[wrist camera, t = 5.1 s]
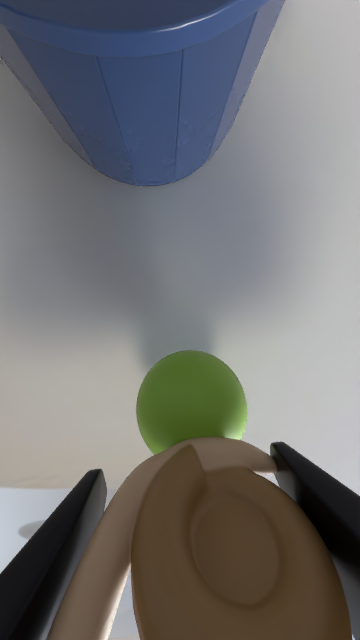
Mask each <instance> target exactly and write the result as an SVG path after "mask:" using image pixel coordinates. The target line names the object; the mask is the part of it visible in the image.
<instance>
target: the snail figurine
mask: <svg viewBox="0 0 360 640" xmlns="http://www.w3.org/2000/svg"><path fill="white" fill-rule="evenodd" d="M136 414H137V422H138V426H139V430H140V433H141V435H142V437H143V440H144V441H145V443H146V445H147V446H148V448H149V449H150V450H151V452H152V453H153V454H154V456H152V457H150V458H148V459H147V460H145V461H144V462H142V463H141V464H140V465H138V466H137V467H136V468H135V469H134V470H133V471H132V472H131V473H130V475H129V476H128V477H127V478H126V480H125V481H124V482H123V483H122V485H121V486H120V488H119V489H118V491H117V492H116V493H115V495H114V497H113V498H112V500H111V501H110V503H109V505H108V507H107V508H106V510H105V512H104V513H103V515H102V517H101V519H100V521H99V522H98V524H97V526H96V528H95V530H94V532H93V534H92V536H91V538H90V540H89V542H88V544H87V546H86V549H85V551H84V553H83V555H82V557H81V559H80V561H79V563H78V565H77V567H76V569H75V572H74V574H73V576H72V578H71V580H70V582H69V584H68V587H67V589H66V591H65V593H64V596H63V598H62V600H61V603H60V605H59V607H58V610H57V612H56V615H55V617H54V620H53V622H52V625H51V627H50V630H49V632H48V635H47V638H46V640H108V637H109V634H110V631H111V627H112V624H113V621H114V617H115V614H116V611H117V608H118V605H119V601H120V598H121V595H122V592H123V589H124V586H125V582H126V579H127V576H128V573H129V570H130V567H131V585H132V598H133V608H134V615H135V619H136V623H137V627H138V632H139V636H140V640H352V631H351V622H350V615H349V610H348V606H347V602H346V598H345V594H344V591H343V587H342V583H341V580H340V577H339V574H338V572H337V569H336V567H335V565H334V562H333V560H332V557H331V555H330V553H329V551H328V549H327V547H326V545H325V543H324V541H323V540H322V538H321V536H320V534H319V533H318V531H317V529H316V528H315V526H314V525H313V523H312V522H311V520H310V519H309V518H308V516H307V515H306V514H305V512H304V511H303V510H302V509H301V507H300V506H299V505H298V504H297V503H296V502H295V501H294V500H293V499H292V498H291V497H290V496H289V495H288V494H287V493H286V492H285V491H283V490H282V489H281V488H280V487H278V486H277V485H275V484H274V483H272V482H271V481H269V480H267V479H266V478H264V477H262V476H260V475H267V474H273V473H276V472H277V466H276V463H275V461H274V459H273V458H272V457H271V456H269V455H268V454H267V453H265V452H263V451H262V450H260V449H258V448H256V447H255V446H253V445H251V444H249V443H246V442H244V441H241V439H242V436H243V434H244V431H245V427H246V421H247V404H246V398H245V394H244V391H243V388H242V386H241V384H240V382H239V380H238V378H237V377H236V375H235V374H234V372H233V371H232V370H231V369H230V368H229V367H228V366H227V365H226V364H225V363H224V362H223V361H221V360H220V359H218V358H217V357H215V356H213V355H210V354H208V353H205V352H201V351H193V350H188V351H180V352H176V353H173V354H171V355H168V356H166V357H165V358H163V359H161V360H160V361H159V362H157V363H156V364H155V365H154V366H153V367H152V368H151V369H150V371H149V372H148V373H147V375H146V376H145V378H144V380H143V382H142V384H141V387H140V389H139V393H138V397H137V405H136Z"/></svg>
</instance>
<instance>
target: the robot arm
mask: <svg viewBox="0 0 360 640" xmlns="http://www.w3.org/2000/svg"><path fill="white" fill-rule="evenodd" d="M270 456H271V457H272V458H273V459H274V461H275V463H276V466H277V472H276V473H274V475H275V477H276V480H277V482H278V484H279V487H280V488H281V489H282V490H283V491H285V492H286V493H287V494H288V495H289V496H290V497H291V498H292V499H293V500H294V501H295V502H296V503H297V504H298V505H299V506H300V507H301V509H302V510H303V511H304V512H305V514H306V515H307V516H308V518H309V519H310V520H311V522H312V523H313V525H314V526H315V528H316V529H317V531H318V533H319V534H320V536H321V538H322V540H323V541H324V543H325V545H326V547H327V549H328V551H329V553H330V555H331V557H332V560H333V562H334V565H335V567H336V569H337V572H338V574H339V577H340V580H341V583H342V587H343V591H344V594H345V598H346V602H347V606H348V610H349V615H350V622H351V631H352V635H353V637H354V638H355V640H360V496H359V495H357V494H356V493H355V492H353V491H352V490H350V489H349V488H348V487H346V486H345V485H343V484H342V483H341V482H339V481H338V480H336V479H335V478H333V477H332V476H331V475H329V474H328V473H326V472H325V471H324V470H322V469H321V468H319V467H318V466H317V465H315V464H314V463H312V462H311V461H309V460H308V459H307V458H305V457H304V456H302V455H301V454H300V453H298V452H297V451H295V450H294V449H292V448H291V447H290V446H288V445H287V444H285V443H284V442H275V443H271V445H270ZM106 495H107V487H106V482H105V478H104V474H103V471H102V469H94V470H90V471H88V472H87V473H86V474H85V475H84V477H83V478H82V479H81V480H80V481H79V482H78V484H77V485H76V486H75V487H74V488H73V489H72V491H71V492H70V493H69V494H68V495H67V496H66V498H65V499H64V500H63V501H62V502H61V503H60V505H59V506H58V507H57V508H56V510H55V511H54V512H53V513H52V514H51V515H50V517H49V518H48V519H47V520H46V521H45V522H44V523H43V525H42V526H41V527H40V528H39V529H38V530H37V532H36V533H35V534H34V535H33V536H32V537H31V539H30V540H29V541H28V542H27V543H26V545H25V546H24V547H23V548H22V549H21V551H19V553H18V554H17V555H16V556H15V557H14V558H13V560H12V561H11V562H10V563H9V564H8V566H7V567H6V568H5V569H4V570H3V571H2V572H1V574H0V640H46V638H47V635H48V632H49V630H50V627H51V625H52V622H53V620H54V617H55V615H56V612H57V610H58V607H59V605H60V603H61V600H62V598H63V596H64V593H65V591H66V589H67V587H68V584H69V582H70V580H71V578H72V576H73V574H74V572H75V569H76V567H77V565H78V563H79V561H80V559H81V557H82V555H83V553H84V551H85V549H86V546H87V544H88V542H89V540H90V538H91V536H92V534H93V532H94V530H95V528H96V526H97V524H98V522H99V521H100V519H101V517H102V515H103V513H104V507H105V502H106Z"/></svg>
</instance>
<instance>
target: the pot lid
mask: <svg viewBox="0 0 360 640" xmlns="http://www.w3.org/2000/svg"><path fill="white" fill-rule="evenodd" d="M268 1H269V0H0V24H1V25H3V26H5V27H7V28H9V29H11V30H13V31H16V32H18V33H20V34H22V35H24V36H26V37H28V38H30V39H32V40H35V41H38V42H41V43H44V44H47V45H50V46H53V47H56V48H59V49H62V50H65V51H69V52H73V53H79V54H85V55H91V56H97V57H103V58H144V57H150V56H156V55H162V54H169V53H174V52H177V51H180V50H183V49H186V48H189V47H192V46H195V45H198V44H201V43H204V42H206V41H208V40H210V39H212V38H214V37H216V36H218V35H220V34H222V33H223V32H225V31H227V30H229V29H231V28H233V27H235V26H237V25H238V24H239V23H241V22H242V21H243V20H245V19H246V18H247V17H249V16H250V15H252V14H253V13H254V12H256V11H257V10H258V9H260V8H261V7H262V6H264V5H265V4H266V3H267V2H268Z"/></svg>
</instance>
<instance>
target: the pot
mask: <svg viewBox="0 0 360 640" xmlns="http://www.w3.org/2000/svg"><path fill="white" fill-rule="evenodd" d="M284 1H285V0H269V1H268V2H267V3H266V4H265V5H264V6H262V7H261V8H260V9H258V10H257V11H256V12H254V13H253V14H252V15H250V16H249V17H247V18H246V19H245V20H243V21H242V22H241V23H239V24H238V25H237V26H235V27H233V28H231V29H229V30H227V31H225V32H223V33H222V34H220V35H218V36H216V37H214V38H212V39H210V40H208V41H206V42H204V43H201V44H198V45H195V46H192V47H189V48H186V49H183V50H180V51H177V52H174V53H169V54H162V55H156V56H150V57H144V58H103V57H97V56H91V55H85V54H79V53H73V52H69V51H65V50H62V49H59V48H56V47H53V46H50V45H47V44H44V43H41V42H38V41H35V40H32V39H30V38H28V37H26V36H24V35H22V34H20V33H18V32H16V31H13V30H11V29H9V28H7V27H5V26H3V25H1V24H0V56H1V57H2V59H3V60H4V61H5V63H6V64H7V65H8V67H9V68H10V69H11V71H12V72H13V73H14V75H15V76H16V77H17V79H18V80H19V81H20V83H21V84H22V85H23V87H24V88H25V89H26V91H27V92H28V93H29V95H30V96H31V97H32V99H33V100H34V101H35V103H36V104H37V105H38V107H39V108H40V109H41V111H42V112H43V113H44V115H45V116H46V117H47V119H48V120H49V121H50V123H51V124H52V125H53V127H54V128H55V129H56V131H57V132H58V133H59V135H60V136H61V137H62V139H63V140H64V141H65V142H66V143H67V144H68V145H69V146H70V147H71V148H72V149H73V150H74V151H75V152H76V153H77V154H78V155H79V156H80V157H81V158H82V159H83V160H84V161H85V162H87V163H88V164H89V165H91V166H92V167H93V168H95V169H96V170H98V171H99V172H101V173H103V174H104V175H106V176H108V177H110V178H113V179H115V180H118V181H120V182H124V183H128V184H131V185H139V186H157V185H163V184H168V183H171V182H174V181H177V180H180V179H182V178H184V177H186V176H188V175H190V174H191V173H193V172H194V171H196V170H197V169H198V168H200V167H201V166H202V165H203V164H204V163H205V162H206V161H207V160H208V159H209V158H210V157H211V156H212V155H213V154H214V152H215V151H216V150H217V149H218V147H219V146H220V144H221V142H222V141H223V139H224V138H225V136H226V134H227V133H228V131H229V130H230V129H231V127H232V124H233V122H234V120H235V117H236V115H237V113H238V110H239V108H240V105H241V103H242V101H243V98H244V96H245V94H246V91H247V89H248V86H249V84H250V82H251V79H252V77H253V75H254V72H255V70H256V68H257V65H258V63H259V60H260V58H261V56H262V53H263V51H264V49H265V46H266V44H267V41H268V39H269V37H270V34H271V32H272V30H273V27H274V25H275V22H276V20H277V18H278V15H279V13H280V11H281V8H282V6H283V4H284Z"/></svg>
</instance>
